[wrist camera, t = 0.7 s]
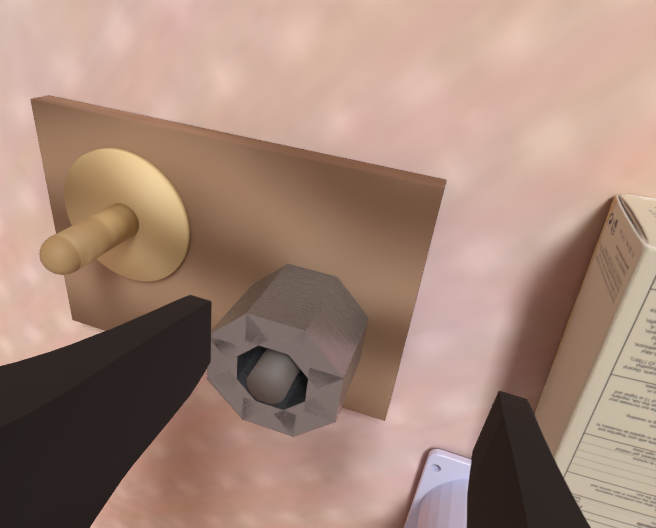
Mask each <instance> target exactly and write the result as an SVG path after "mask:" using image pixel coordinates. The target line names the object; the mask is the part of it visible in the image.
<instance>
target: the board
mask: <svg viewBox="0 0 656 528" xmlns="http://www.w3.org/2000/svg"><path fill="white" fill-rule="evenodd" d="M31 104H32V109H33V115H34V120H35V125H36V130H37V136H38V141H39V146H40V151H41V157H42V162H43V167H44V172H45V178H46V183H47V188H48V193H49V199H50V204H51V209H52V214H53V220H54V225H55V230H56V234H55V235H53V236H51V237H49V238H48V239H47V240H46V241H45V242H44V243H43V244H42V246H41V249H40V260H41V262H42V264H43V265H44V267H45V268H46V269H47V270H49V271H51V272H53V273H55V274H60V275H64V277H65V283H66V288H67V293H68V298H69V304H70V309H71V314H72V319H73V320H75V321H78V322H81V323H84V324H87V325H90V326H93V327H96V328H99V329H102V330H106V331H107V330H109V329H112V328H114V327H117V326H119V325H121V324H124V323H126V322H128V321H131V320H133V319H135V318H137V317H140V316H142V315H144V314H147V313H149V312H151V311H153V310H156V309H158V308H160V307H162V306H164V305H167V304H169V303H171V302H174V301H176V300H178V299H181V298H183V297H186V296H188V295H193V296H197V297H200V298H203V299H206V300H209V301H212V308H211V330H212V329H213V328H214V327H215V326H216V325H217V324H218V323H219V321H220V320H221V319H222V318H223V317H224V316H225V315H226V314H227V312H228V311H229V310H230V309H231V308H232V307H233V306H234V304H235V303H236V302H237V301H238V300H239V299H240V298H241V297H242V295H243V294H244V293H245V292H246V291H247V290H248V289H249V288H250V286H251V285H253V284H254V283H256V282H258V281H259V280H261V279H263V278H264V277H266V276H268V275H269V274H271V273H272V272H274V271H276V270H277V269H279V268H281V267H282V266H284V265H286V264H287V263H288V264H292V265H295V266H299V267H303V268H307V269H310V270H314V271H318V272H322V273H326V274H329V275H333V276H337V277H338V278H339V279H340V280H341V282H342V283H343V284H344V286H345V287H346V288H347V290H348V291H349V292H350V294H351V295H352V296H353V298H354V299H355V300H356V302H357V303H358V304H359V306H360V307H361V308H362V310H363V311H364V312H365V314H366V315H367V316H368V317H369V318H368V323H367V328H366V333H365V338H364V343H363V348H362V353H361V358H360V361H359V364H358V366H357V369H356V371H355V374H354V376H353V379H352V381H351V384H350V387H349V389H348V392H347V394H346V397H345V399H344V402H343V405H342V407H343V408H347V409H350V410H353V411H356V412H359V413H362V414H365V415H368V416H371V417H374V418H377V419H381V420H384V421H385V419H386V415H387V412H388V408H389V404H390V400H391V396H392V392H393V388H394V384H395V381H396V377H397V373H398V369H399V365H400V361H401V357H402V353H403V349H404V345H405V341H406V337H407V333H408V329H409V326H410V322H411V318H412V314H413V310H414V306H415V302H416V298H417V294H418V290H419V286H420V282H421V278H422V275H423V271H424V267H425V263H426V259H427V255H428V251H429V247H430V243H431V239H432V235H433V231H434V227H435V223H436V220H437V216H438V212H439V208H440V204H441V200H442V196H443V192H444V188H445V184H446V180H445V179H440V178H435V177H431V176H426V175H421V174H417V173H412V172H407V171H403V170H398V169H393V168H388V167H384V166H379V165H374V164H370V163H365V162H360V161H355V160H351V159H346V158H341V157H337V156H332V155H327V154H322V153H318V152H313V151H308V150H304V149H299V148H294V147H289V146H285V145H280V144H275V143H271V142H266V141H261V140H256V139H252V138H247V137H242V136H238V135H233V134H228V133H223V132H219V131H214V130H209V129H205V128H200V127H195V126H190V125H186V124H181V123H176V122H172V121H167V120H162V119H158V118H153V117H148V116H143V115H139V114H134V113H129V112H125V111H120V110H115V109H110V108H106V107H101V106H96V105H92V104H87V103H82V102H77V101H73V100H68V99H63V98H59V97H54V96H49V95H48V96H43V97H38V98H33V99H31ZM299 371H300V368H299V367H298V366H297V364H296V363H295V362H294V361H293V359H292V358H291V357H290V356H289V355H288V354H285V353H282V352H278V351H275V350H272V349H269V348H267V349H266V350H265V352H264V353H263V355H262V356H261V358H260V359H259V361H258V362H257V364H256V365H255V367H254V368H253V370H252V371H251V372H250V374H249V375H248V377H247V387H248V389H249V391H250V392H251V394H252V395H253V396H254V397H255V398H257V399H258V400H260V401H262V402H264V403H268V404H277V403H280V402H281V401H283V400H284V398H285V396H286V394H287V393H288V391H289V389H290V387H291V385H292V383H293V382H294V380H295V378H296V376H297V374H298V372H299Z"/></svg>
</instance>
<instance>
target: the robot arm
mask: <svg viewBox="0 0 656 528" xmlns="http://www.w3.org/2000/svg"><path fill="white" fill-rule="evenodd" d="M211 308H212V301H209V300H206V299H203V298H200V297H197V296H193V295H188V296H186V297H183V298H181V299H178V300H176V301H174V302H171V303H169V304H167V305H164V306H162V307H160V308H158V309H156V310H153V311H151V312H149V313H147V314H144V315H142V316H140V317H137V318H135V319H133V320H131V321H128V322H126V323H124V324H121V325H119V326H117V327H114V328H112V329H109V330H107V331H104V332H102V333H99V334H97V335H94V336H92V337H89V338H86V339H84V340H81V341H79V342H76V343H74V344H71V345H68V346H65V347H63V348H60V349H57V350H54V351H51V352H48V353H45V354H41V355H38V356H35V357H32V358H28V359H25V360H22V361H18V362H15V363H11V364H7V365H3V366H0V528H90V527H91V525H92V523H93V522H94V520H95V519H96V517H97V516H98V514H99V513H100V511H101V510H102V508H103V507H104V505H105V504H106V502H107V501H108V499H109V498H110V496H111V495H112V493H113V492H114V490H115V489H116V487H117V486H118V484H119V483H120V482H121V480H122V479H123V477H124V476H125V475H126V474H127V472H128V471H129V470H130V468H131V467H132V466H133V464H134V463H135V462H136V461H137V459H138V458H139V457H140V456H141V455H142V453H143V452H144V451H145V450H146V449H147V447H148V446H149V445H150V444H151V442H152V441H153V440H154V439H155V438H156V436H157V435H158V434H159V433H160V432H161V430H162V429H163V428H164V427H165V426H166V424H167V423H168V422H169V421H170V419H171V418H172V417H173V416H174V415H175V413H176V412H177V411H178V410H179V408H180V407H181V406H182V405H183V403H184V402H185V401H186V400H187V398H188V397H189V396H190V395H191V393H192V391H193V390H194V388H195V387H196V385H197V384H198V382H199V381H200V379H201V377H202V376H203V374H204V372H205V371H206V369H207V367H208V366H209V364H210V362H211ZM434 464H435V465H434ZM437 465H438V466H437ZM404 528H591V527H590V525H589V524H588V522H587V520H586V518H585V517H584V515H583V513H582V511H581V510H580V508H579V506H578V504H577V502H576V500H575V498H574V497H573V495H572V493H571V491H570V489H569V487H568V485H567V483H566V481H565V479H564V477H563V475H562V473H561V471H560V469H559V467H558V465H557V463H556V461H555V459H554V457H553V455H552V453H551V451H550V449H549V446H548V444H547V442H546V440H545V438H544V436H543V433H542V431H541V429H540V427H539V424H538V422H537V420H536V417H535V415H534V413H533V411H532V408H531V406H530V404H529V402H528V400H527V399H524V398H521V397H518V396H515V395H511V394H508V393H505V392H502V391H499V392H498V394H497V396H496V399H495V401H494V403H493V405H492V408H491V410H490V412H489V415H488V417H487V419H486V422H485V424H484V426H483V429H482V431H481V433H480V435H479V438H478V440H477V442H476V445H475V447H474V449H473V453H472V460H471V459H468V458H465V457H462V456H459V455H456V454H453V453H450V452H447V451H444V450H441V449H433V450H431V451H430V452H429V454H428V457H427V460H426V463H425V466H424V469H423V472H422V475H421V478H420V481H419V484H418V487H417V490H416V493H415V496H414V498H413V501H412V504H411V507H410V510H409V513H408V516H407V519H406V522H405V525H404Z"/></svg>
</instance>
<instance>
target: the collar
mask: <svg viewBox="0 0 656 528" xmlns="http://www.w3.org/2000/svg"><path fill="white" fill-rule="evenodd" d="M368 318H369V317H368V316H367V315H366V314H365V312H364V311H363V310H362V308H361V307H360V306H359V304H358V303H357V302H356V300H355V299H354V298H353V296H352V295H351V294H350V292H349V291H348V290H347V288H346V287H345V286H344V284H343V283H342V282H341V280H340V279H339V278H338V277H337V276H333V275H329V274H326V273H322V272H318V271H314V270H310V269H307V268H303V267H299V266H295V265H292V264H288V263H287V264H286V265H284V266H282V267H281V268H279V269H277V270H276V271H274V272H272V273H271V274H269V275H268V276H266V277H264V278H263V279H261V280H259V281H258V282H256V283H254V284H253V285H251V286H250V288H249V289H248V290H247V291H246V292H245V293H244V294H243V295H242V297H241V298H240V299H239V300H238V301H237V302H236V303H235V304H234V306H233V307H232V308H231V309H230V310H229V311H228V312H227V314H226V315H225V316H224V317H223V318H222V319H221V320H220V321H219V323H218V324H217V325H216V326H215V327H214V328H213V329H212V330H211V362H210V364H209V366H208V367H207V376H208V381H209V382H210V383H211V384H212V385H213V386H214V387H215V389H216V390H217V391H218V392H219V393H220V394H221V395H222V396H223V398H224V399H225V400H226V401H227V402H228V403H229V404H230V406H231V407H232V408H233V409H234V410H235V411H236V412H237V414H238V415H239V416H240V417H241V418H242V419H243V420H246V421H249V422H252V423H255V424H258V425H261V426H264V427H267V428H269V429H272V430H275V431H278V432H281V433H284V434H287V435H290V436H293V437H294V436H297V435H299V434H302V433H305V432H308V431H311V430H314V429H317V428H319V427H322V426H325V425H328V424H331V423H334V422H336V420H337V417H338V415H339V412H340V410H341V407H342V405H343V402H344V399H345V397H346V394H347V392H348V389H349V387H350V384H351V381H352V379H353V376H354V374H355V371H356V369H357V366H358V364H359V361H360V358H361V353H362V348H363V343H364V338H365V333H366V328H367V323H368ZM267 348H269V349H272V350H275V351H278V352H282V353H285V354H288V355H289V356H290V357H291V358H292V359H293V361H294V362H295V363H296V364H297V366H298V367H299V368H300V371H299V372H298V374H297V376H296V378H295V380H294V382H293V383H292V385H291V387H290V389H289V391H288V393H287V394H286V396H285V398H284V400H283V401H281V402H280V403H277V404H268V403H264V402H262V401H260V400H258V399H257V398H255V397H254V396H253V395H252V394H251V392H250V391H249V389H248V387H247V377H248V375H249V374H250V372H251V371H252V370H253V368H254V367H255V365H256V364H257V362H258V361H259V359H260V358H261V356H262V355H263V353H264V352H265V350H266V349H267Z"/></svg>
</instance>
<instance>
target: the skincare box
mask: <svg viewBox="0 0 656 528" xmlns="http://www.w3.org/2000/svg"><path fill="white" fill-rule="evenodd" d="M534 415H535V417H536V420H537V422H538V424H539V427H540V429H541V431H542V433H543V436H544V438H545V440H546V442H547V444H548V446H549V449H550V451H551V453H552V455H553V457H554V459H555V461H556V463H557V465H558V467H559V469H560V471H561V473H562V475H563V477H564V479H565V481H566V483H567V485H568V487H569V489H570V491H571V493H572V495H573V497H574V498H575V500H576V502H577V504H578V506H579V508H580V510H581V511H582V513H583V515H584V517H585V518H586V520H587V522H588V524H589V525H590V527H591V528H656V198H649V197H642V196H637V195H629V194H618V195H616V196H615V197H614V199H613V201H612V204H611V207H610V210H609V212H608V215H607V218H606V221H605V223H604V226H603V229H602V231H601V234H600V237H599V240H598V242H597V245H596V247H595V250H594V253H593V255H592V258H591V261H590V263H589V266H588V269H587V272H586V275H585V277H584V280H583V282H582V285H581V288H580V291H579V293H578V296H577V299H576V301H575V304H574V307H573V309H572V312H571V314H570V317H569V320H568V323H567V326H566V328H565V331H564V334H563V337H562V340H561V342H560V345H559V347H558V350H557V353H556V356H555V359H554V361H553V364H552V366H551V369H550V372H549V375H548V378H547V380H546V383H545V386H544V388H543V391H542V394H541V397H540V400H539V402H538V405H537V408H536V411H535V414H534Z"/></svg>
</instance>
